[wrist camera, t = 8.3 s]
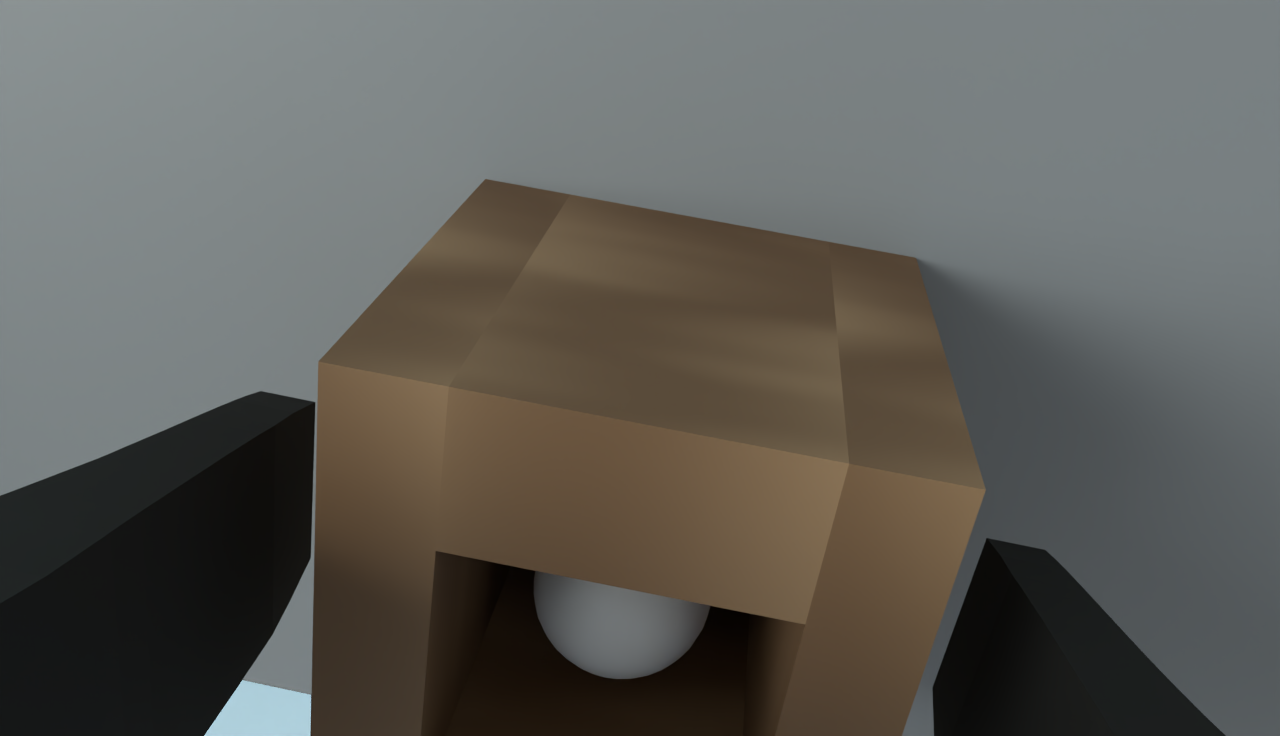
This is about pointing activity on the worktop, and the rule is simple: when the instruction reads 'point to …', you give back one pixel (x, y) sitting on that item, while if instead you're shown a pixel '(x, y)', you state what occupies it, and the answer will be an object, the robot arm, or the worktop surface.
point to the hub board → (709, 189)
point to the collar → (635, 477)
